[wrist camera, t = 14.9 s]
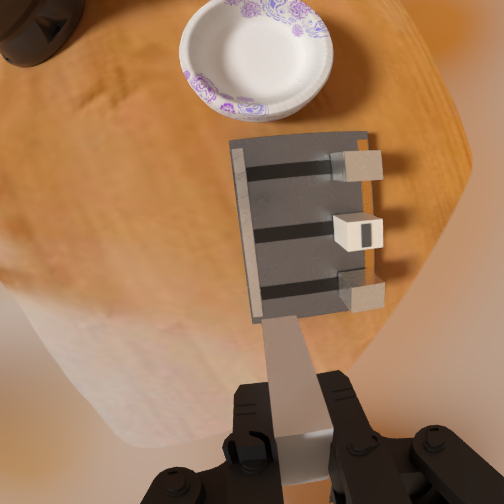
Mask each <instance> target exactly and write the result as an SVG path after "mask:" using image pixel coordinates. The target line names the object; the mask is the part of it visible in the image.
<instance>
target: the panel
mask: <svg viewBox="0 0 504 504" xmlns="http://www.w3.org/2000/svg"><path fill="white" fill-rule="evenodd" d="M229 146H230V154H231V162H232V170H233V178H234V186H235V194H236V202H237V210H238V218H239V225H240V233H241V241H242V249H243V256H244V264H245V272H246V279H247V287H248V294H249V302H250V309H251V316H252V324H258V323H262V321H261V320H262V319H270V318H278V317H286V316H293V315H296V316H297V318H304V317H311V316H317V315H324V314H330V313H336V312H342V311H348V310H350V312H351V313H355V312H360V311H366V310H371V309H377V308H382V307H384V297H385V282H384V281H383V280H382V279H381V278H379V277H378V276H377V275H376V274H375V248H374V249H366V250H359V251H351V252H348V251H347V250H345V249H344V248H343V247H342V246H341V245H339V244H338V243H337V242H336V241H335V239H334V222H333V215H339V214H349V213H360V212H366V213H369V214H371V215H374V203H373V186H372V180H383V168H382V157H381V150H369V142H368V134H367V131H351V132H322V133H305V134H290V135H278V136H267V137H258V138H249V139H240V140H232V141H229Z"/></svg>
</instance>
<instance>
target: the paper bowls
mask: <svg viewBox="0 0 504 504" xmlns="http://www.w3.org/2000/svg"><path fill="white" fill-rule="evenodd" d="M179 58H180V64H181V68H182V71H183V73H184V75H185V77H186V79H187V81H188V83H189V84H190V86H191V87H192V89H193V90H194V91H195V92H196V94H197V95H198V96H199V97H200V98H201V100H202V101H203V102H205V103H206V104H207V105H208V106H209V107H210V108H212V109H213V110H215V111H216V112H218V113H220V114H222V115H224V116H226V117H229V118H232V119H235V120H240V121H246V122H258V123H259V122H270V121H275V120H279V119H282V118H285V117H287V116H290V115H292V114H294V113H295V112H297V111H299V110H300V109H302V108H303V107H304V106H305V105H307V104H308V103H309V102H310V101H311V100H312V99H313V98H314V97H315V96H316V95H317V94H318V92H319V91H320V90H321V89H322V87H323V86H324V85H325V83H326V81H327V80H328V77H329V75H330V73H331V70H332V65H333V58H334V50H333V43H332V39H331V36H330V33H329V31H328V29H327V27H326V25H325V23H324V22H323V21H322V19H321V18H320V17H319V15H318V14H317V13H316V12H315V11H314V10H313V9H312V8H310V7H309V6H308V5H307V4H305V3H304V2H302V1H300V0H211V1H209V2H208V3H206V4H205V5H204V6H202V7H201V8H200V9H199V10H198V11H197V12H196V13H195V14H194V15H193V16H192V18H191V19H190V21H189V22H188V24H187V25H186V27H185V29H184V32H183V34H182V37H181V42H180V48H179Z"/></svg>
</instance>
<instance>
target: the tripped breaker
mask: <svg viewBox="0 0 504 504" xmlns="http://www.w3.org/2000/svg"><path fill="white" fill-rule="evenodd" d="M333 222H334V239H335V241H336V242H337V243H338V244H339V245H341V246H342V247H343V248H344V249H345V250H347V251H348V252H351V251H359V250H366V249H374V248H381V247H383V219H382V218H379V217H377V216H374V215H371V214H369V213H366V212H360V213H349V214H339V215H333Z"/></svg>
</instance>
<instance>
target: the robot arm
mask: <svg viewBox="0 0 504 504" xmlns="http://www.w3.org/2000/svg"><path fill="white" fill-rule="evenodd" d="M83 8H84V0H0V53H1V54H2V56H3V57H4V59H5V60H6V61H7V62H8V63H10V64H12V65H15V66H18V67H22V68H27V67H32V66H35V65H37V64H39V63H41V62H43V61H44V60H46V59H47V58H49V57H50V56H51V55H52V54H54V53H55V52H56V51H57V50H58V49H59V48H60V47H61V46H62V45H63V44H64V43H65V41H66V40H67V39H68V38H69V36H70V35H71V34H72V32H73V31H74V29H75V27H76V26H77V24H78V22H79V20H80V18H81V15H82V12H83ZM261 321H262V330H263V339H264V348H265V357H266V366H267V375H268V382H262V383H253V384H243V385H240V386H239V388H238V389H237V391H236V392H235V394H234V410H233V415H234V416H233V433H231V434H230V435H229V436H228V437H227V438H226V439H225V440H224V443H223V447H222V449H223V452H224V455H225V458H226V461H225V462H224V463H222V464H221V465H219V466H218V467H215V468H212V469H210V470H206V471H202V472H198V473H195V472H194V471H193V470H190V469H188V468H185V467H173V468H169V469H166V470H164V471H162V472H160V473H159V474H158V475H157V476H156V477H155V479H154V480H153V482H152V484H151V485H150V487H149V489H148V491H147V493H146V494H145V496H144V498H143V500H142V501H141V503H140V504H284V500H283V492H282V486H287V485H295V484H301V483H307V482H313V481H319V480H324V479H328V477H329V475H330V478H331V482H332V486H331V493H330V502H333V503H334V504H504V477H503V476H502V475H501V474H500V473H499V472H497V471H496V470H495V469H494V468H493V467H492V466H491V465H489V463H487V462H486V461H485V460H484V459H483V458H482V457H481V456H480V455H478V454H477V453H476V452H475V451H474V450H473V449H472V448H470V447H469V446H468V445H467V444H466V443H465V442H463V440H462V439H460V438H459V437H458V436H457V435H456V434H455V433H454V432H453V431H451V430H450V429H448V428H447V427H444V426H440V425H430V426H427V427H424V428H422V429H421V430H419V432H417V433H416V435H415V437H414V438H400V439H394V438H393V439H392V438H387V437H383V436H381V435H380V434H379V433H377V432H376V431H374V430H373V429H372V428H371V426H370V424H369V422H368V420H367V417H366V415H365V413H364V411H363V409H362V406H361V404H360V402H359V400H358V398H357V396H356V393H355V391H354V389H353V387H352V384H351V382H350V380H349V378H348V377H347V376H346V375H344V374H343V373H342V372H341V371H339V370H336V371H331V372H326V373H320V374H316V373H315V370H314V367H313V364H312V361H311V358H310V355H309V352H308V349H307V346H306V343H305V340H304V337H303V334H302V331H301V328H300V325H299V322H298V319H297V316H296V315H293V316H286V317H278V318H270V319H262V320H261Z"/></svg>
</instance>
